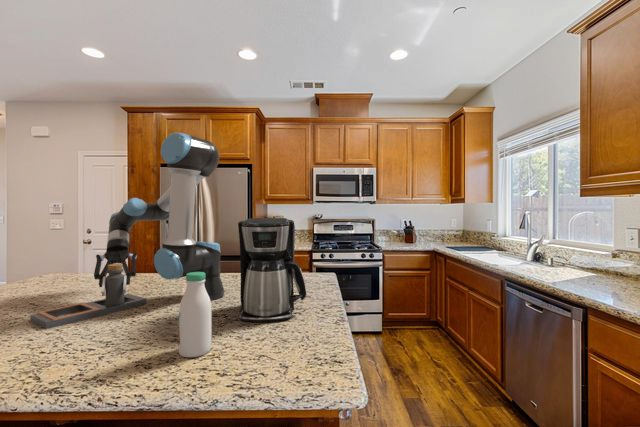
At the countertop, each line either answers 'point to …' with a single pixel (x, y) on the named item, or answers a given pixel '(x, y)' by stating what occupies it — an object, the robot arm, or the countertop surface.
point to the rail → (88, 311)
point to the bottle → (114, 285)
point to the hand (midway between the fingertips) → (114, 292)
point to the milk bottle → (195, 317)
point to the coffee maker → (268, 269)
